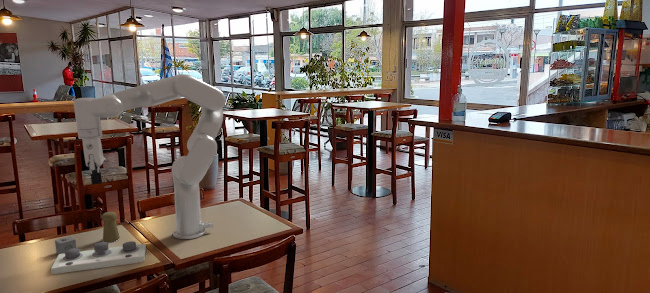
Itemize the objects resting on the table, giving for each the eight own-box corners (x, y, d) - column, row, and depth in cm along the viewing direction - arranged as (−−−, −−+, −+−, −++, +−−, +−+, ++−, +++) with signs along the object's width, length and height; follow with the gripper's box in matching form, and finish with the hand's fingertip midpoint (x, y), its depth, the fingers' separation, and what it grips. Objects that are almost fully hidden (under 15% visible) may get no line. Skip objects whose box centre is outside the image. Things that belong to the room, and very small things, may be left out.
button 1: (81, 252, 156) (80, 247, 156) (78, 257, 152) (78, 252, 152) (66, 254, 155) (66, 249, 155) (64, 259, 151) (63, 254, 150)
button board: (145, 248, 166) (145, 242, 165) (144, 261, 155) (143, 255, 154) (59, 259, 157) (59, 253, 156) (51, 274, 145) (50, 267, 145)
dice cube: (56, 253, 162) (54, 240, 161) (71, 248, 166) (69, 236, 165) (61, 256, 159) (60, 243, 158) (76, 252, 163) (75, 239, 162)
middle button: (109, 246, 159) (108, 241, 159) (107, 251, 155) (107, 245, 155) (95, 248, 158) (94, 242, 157) (93, 253, 154) (93, 247, 153)
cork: (113, 243, 171) (110, 215, 169) (99, 241, 172) (96, 214, 170) (123, 237, 177) (120, 210, 175) (109, 236, 178) (107, 209, 176)
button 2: (136, 246, 162) (136, 240, 162) (136, 250, 158) (135, 245, 158) (123, 247, 161) (123, 242, 160) (122, 252, 157) (121, 246, 156)
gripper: (99, 135, 151) (106, 187, 155) (104, 129, 165) (110, 177, 169) (74, 137, 149) (82, 190, 152) (81, 131, 163) (88, 179, 166)
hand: (97, 183), depth 161 cm, fingers closed
